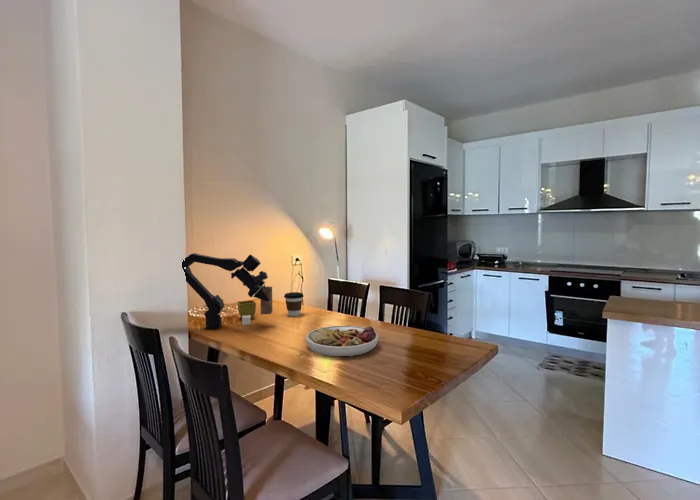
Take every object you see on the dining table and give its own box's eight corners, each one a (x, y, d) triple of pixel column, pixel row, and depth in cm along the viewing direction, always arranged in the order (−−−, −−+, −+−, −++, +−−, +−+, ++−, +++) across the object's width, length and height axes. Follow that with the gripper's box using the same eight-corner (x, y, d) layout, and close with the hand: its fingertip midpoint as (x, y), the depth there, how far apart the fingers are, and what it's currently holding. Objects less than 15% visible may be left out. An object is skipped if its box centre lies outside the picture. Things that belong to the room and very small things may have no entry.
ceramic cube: (242, 325, 192) (242, 317, 191) (242, 323, 196) (242, 315, 195) (250, 324, 193) (250, 317, 192) (250, 322, 197) (250, 315, 196)
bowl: (313, 363, 140) (312, 342, 139) (301, 339, 169) (301, 322, 168) (388, 355, 148) (388, 335, 147) (365, 333, 177) (365, 317, 176)
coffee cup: (283, 313, 216) (282, 292, 215) (302, 312, 219) (301, 291, 218) (285, 318, 205) (285, 296, 204) (305, 316, 209) (305, 295, 208)
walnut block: (260, 314, 186) (260, 288, 185) (262, 312, 191) (262, 286, 190) (270, 314, 186) (270, 288, 186) (272, 311, 191) (272, 286, 191)
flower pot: (237, 317, 208) (236, 301, 207) (253, 315, 211) (253, 299, 211) (239, 321, 200) (239, 304, 199) (256, 319, 203) (256, 302, 203)
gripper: (254, 268, 177) (278, 291, 179) (260, 264, 196) (282, 285, 198) (237, 285, 177) (262, 308, 179) (245, 279, 196) (267, 300, 198)
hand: (269, 299), depth 188 cm, fingers closed on walnut block, 5 cm apart
